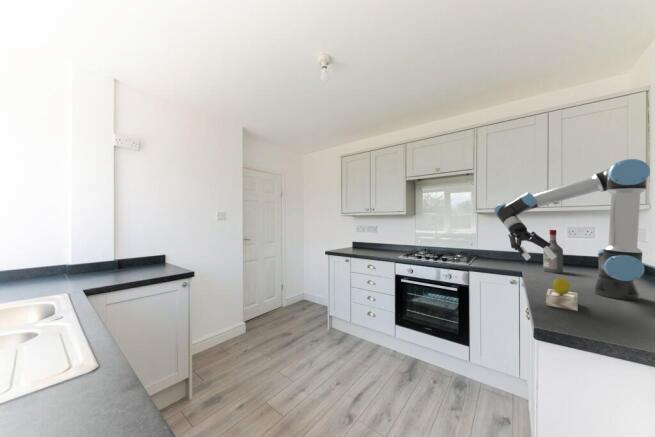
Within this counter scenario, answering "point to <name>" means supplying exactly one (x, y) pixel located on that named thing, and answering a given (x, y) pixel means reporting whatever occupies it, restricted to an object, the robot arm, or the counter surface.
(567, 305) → the display riser
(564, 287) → the lemon
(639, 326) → the counter surface
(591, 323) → the counter surface
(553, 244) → the liquor
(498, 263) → the counter surface
